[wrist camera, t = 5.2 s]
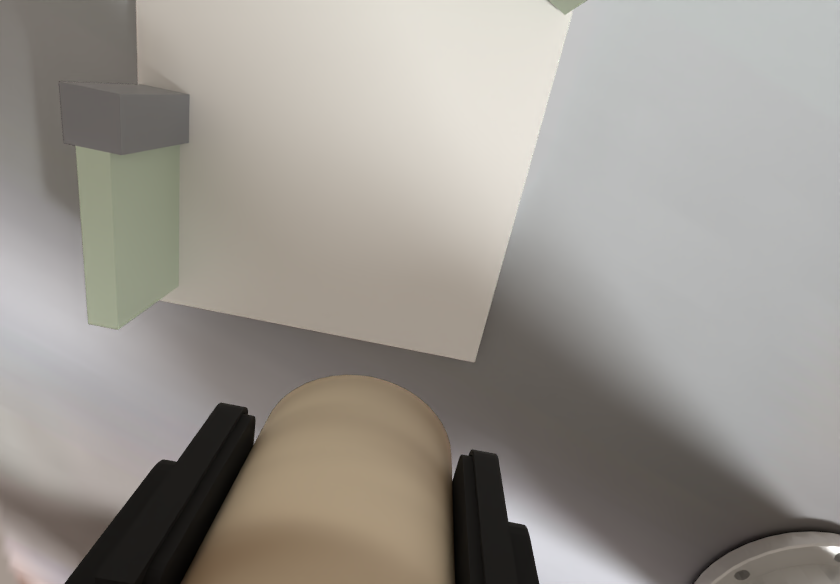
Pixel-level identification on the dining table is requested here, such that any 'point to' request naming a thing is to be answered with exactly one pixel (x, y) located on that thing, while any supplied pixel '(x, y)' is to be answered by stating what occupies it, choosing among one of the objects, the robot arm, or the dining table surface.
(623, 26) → the dining table surface
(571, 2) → the gate
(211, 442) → the robot arm
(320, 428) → the roller
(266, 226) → the gate frame
